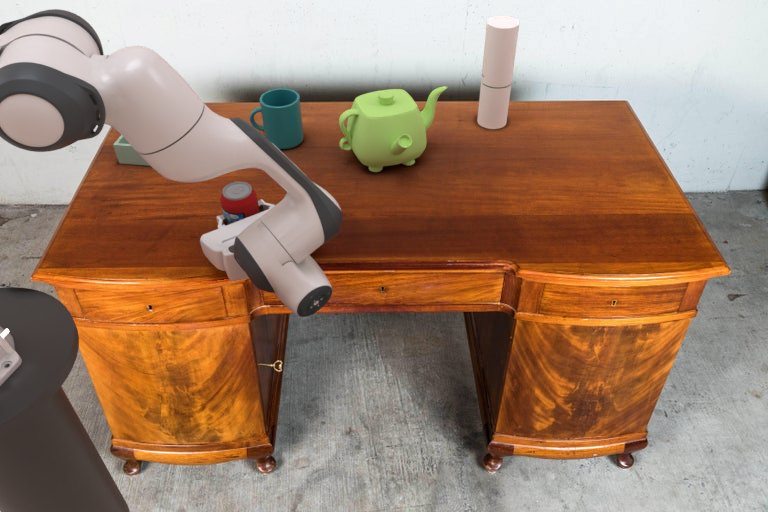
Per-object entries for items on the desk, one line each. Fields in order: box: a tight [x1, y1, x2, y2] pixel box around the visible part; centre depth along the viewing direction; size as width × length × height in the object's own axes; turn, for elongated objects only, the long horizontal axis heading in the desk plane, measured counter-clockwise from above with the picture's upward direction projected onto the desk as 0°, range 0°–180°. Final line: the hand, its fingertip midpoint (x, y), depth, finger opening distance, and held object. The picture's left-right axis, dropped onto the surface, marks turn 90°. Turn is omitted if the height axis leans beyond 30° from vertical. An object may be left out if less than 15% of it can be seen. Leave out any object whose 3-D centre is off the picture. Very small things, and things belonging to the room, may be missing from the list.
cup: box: [249, 87, 305, 150], centre depth 152 cm, size 9×12×11 cm
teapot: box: [338, 85, 448, 173], centre depth 144 cm, size 25×22×16 cm
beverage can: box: [219, 181, 260, 225], centre depth 125 cm, size 7×7×12 cm
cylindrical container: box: [476, 14, 520, 130], centre depth 153 cm, size 7×7×25 cm
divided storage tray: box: [112, 134, 151, 167], centre depth 150 cm, size 10×19×5 cm, turn 82°
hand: (239, 210), depth 125 cm, fingers closed on beverage can, 7 cm apart
